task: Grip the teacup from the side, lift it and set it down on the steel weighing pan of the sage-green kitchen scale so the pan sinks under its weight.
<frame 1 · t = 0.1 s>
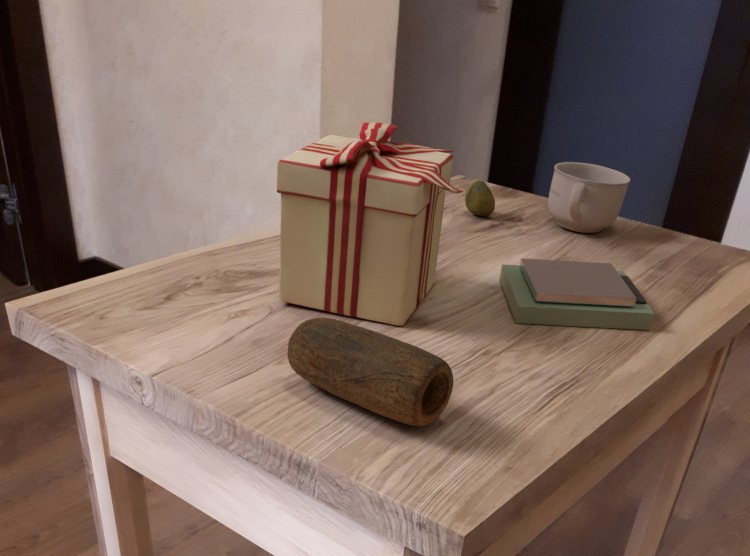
wooden vase: (366, 403, 71), on the table
gift box: (373, 295, 92), on the table
teacup: (576, 230, 116), on the table
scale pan: (575, 281, 91), point 3 cm above the table, slide at 0.0 cm
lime: (478, 217, 119), on the table
scale: (570, 303, 93), on the table
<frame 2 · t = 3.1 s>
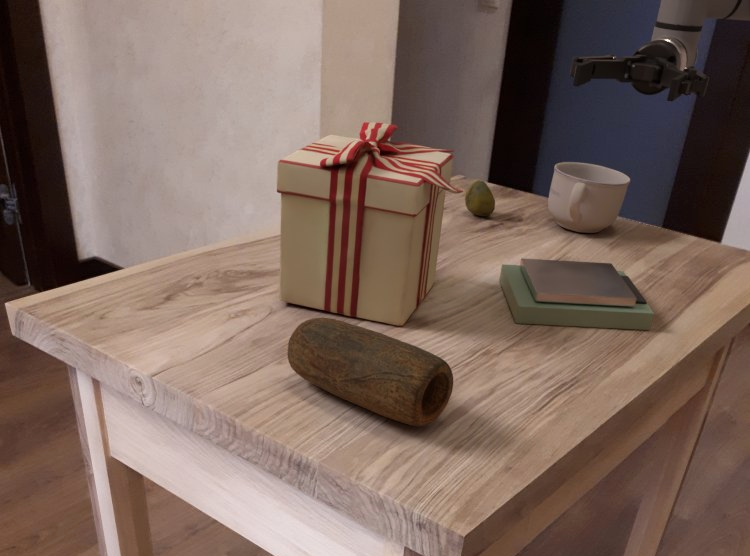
hand: (623, 82, 112), 18 cm above the table, tool horizontal, fingers open, 13 cm apart
nothing on the table moved.
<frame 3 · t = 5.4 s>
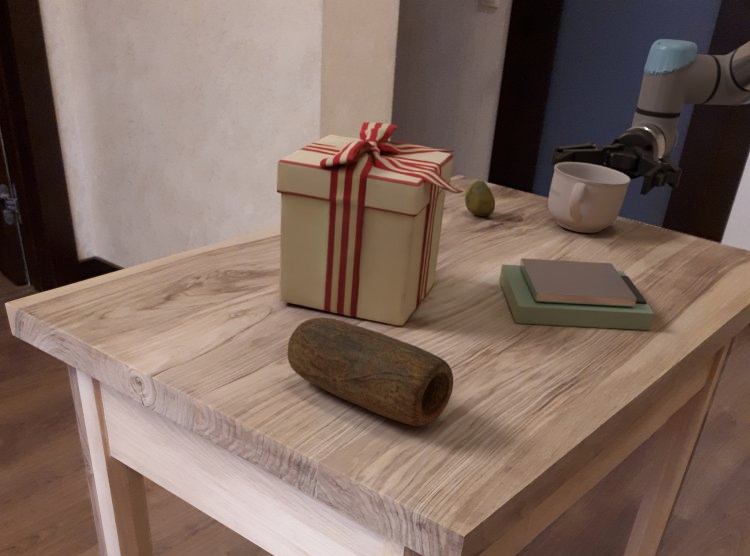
hand: (599, 176, 118), 6 cm above the table, tool horizontal, fingers open, 13 cm apart
nothing on the table moved.
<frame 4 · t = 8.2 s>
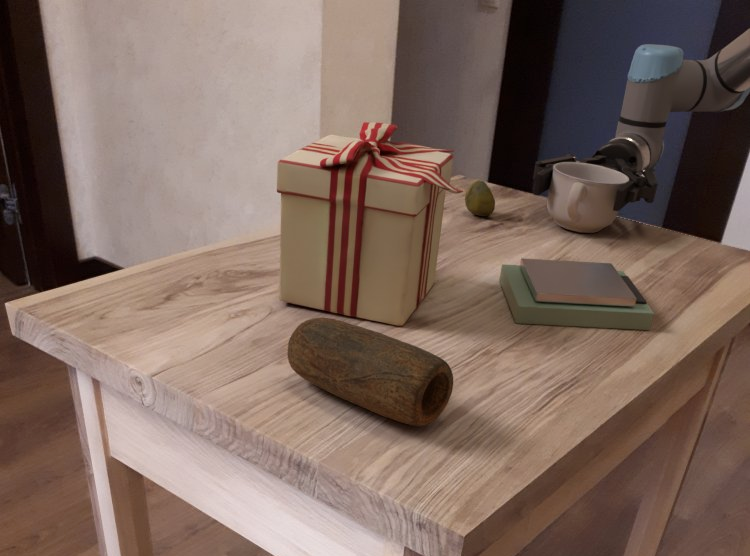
hand: (576, 192, 110), 6 cm above the table, tool horizontal, fingers closed on teacup, 11 cm apart
teacup: (575, 230, 116), on the table, touching gripper
everything else where it was.
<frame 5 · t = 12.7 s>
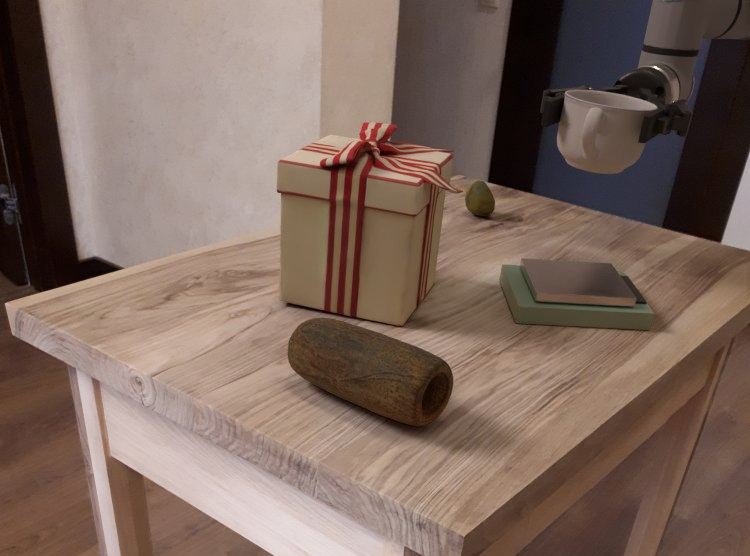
hand: (593, 121, 90), 18 cm above the table, tool horizontal, fingers closed on teacup, 11 cm apart
teacup: (590, 172, 97), point 12 cm above the table, touching gripper
everything else where it was.
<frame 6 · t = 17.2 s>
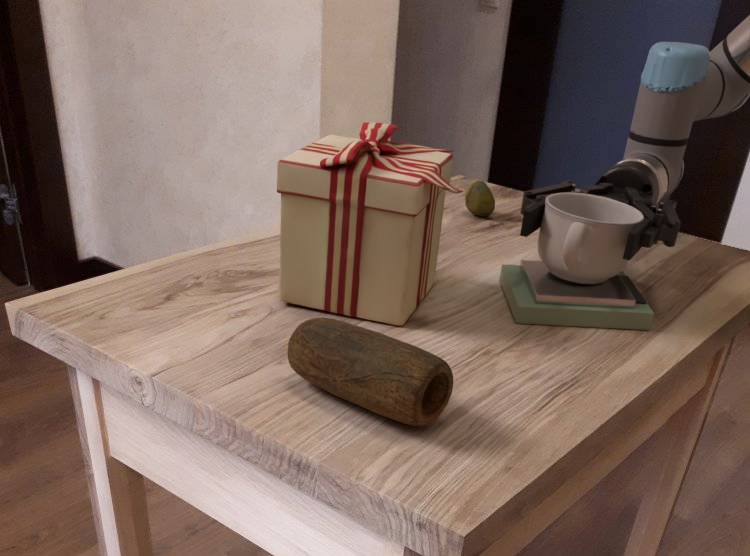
hand: (575, 235, 84), 9 cm above the table, tool horizontal, fingers closed on teacup, 11 cm apart
teacup: (573, 280, 91), point 3 cm above the table, touching gripper, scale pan
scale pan: (575, 283, 91), point 2 cm above the table, slide at -0.2 cm, touching scale, teacup
everything else where it was.
when the fingers open (9 cm above the table, at t = 17.5 s): teacup stays where it is, resting on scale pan.
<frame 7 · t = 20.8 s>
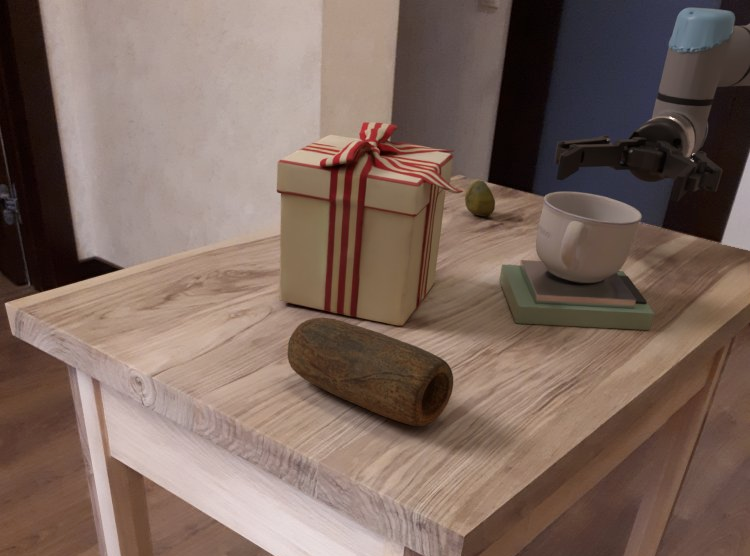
hand: (617, 178, 92), 12 cm above the table, tool horizontal, fingers open, 13 cm apart
teacup: (571, 279, 91), point 3 cm above the table, touching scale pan
everything else where it was.
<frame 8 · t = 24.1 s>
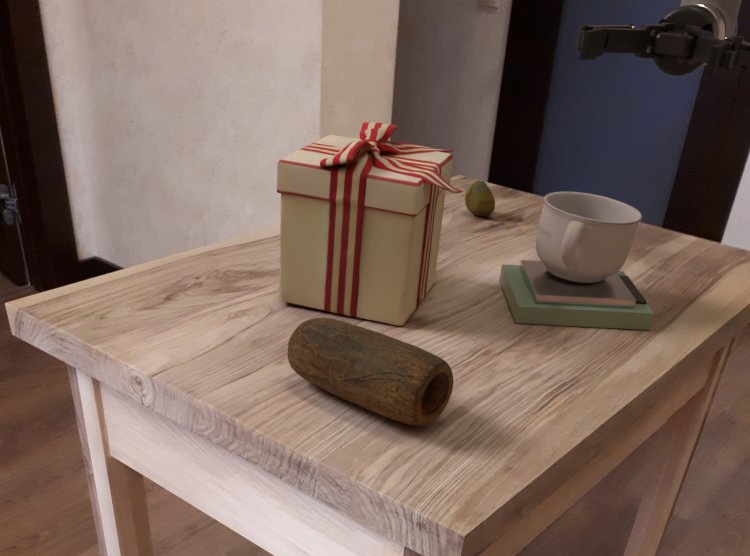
hand: (646, 53, 85), 25 cm above the table, tool horizontal, fingers open, 13 cm apart
nothing on the table moved.
at the end: teacup inside the target area on the scale (0.6 cm from its centre), point 2.8 cm above the scale's base; teacup tilted 0°; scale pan slide at -0.2 cm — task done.
